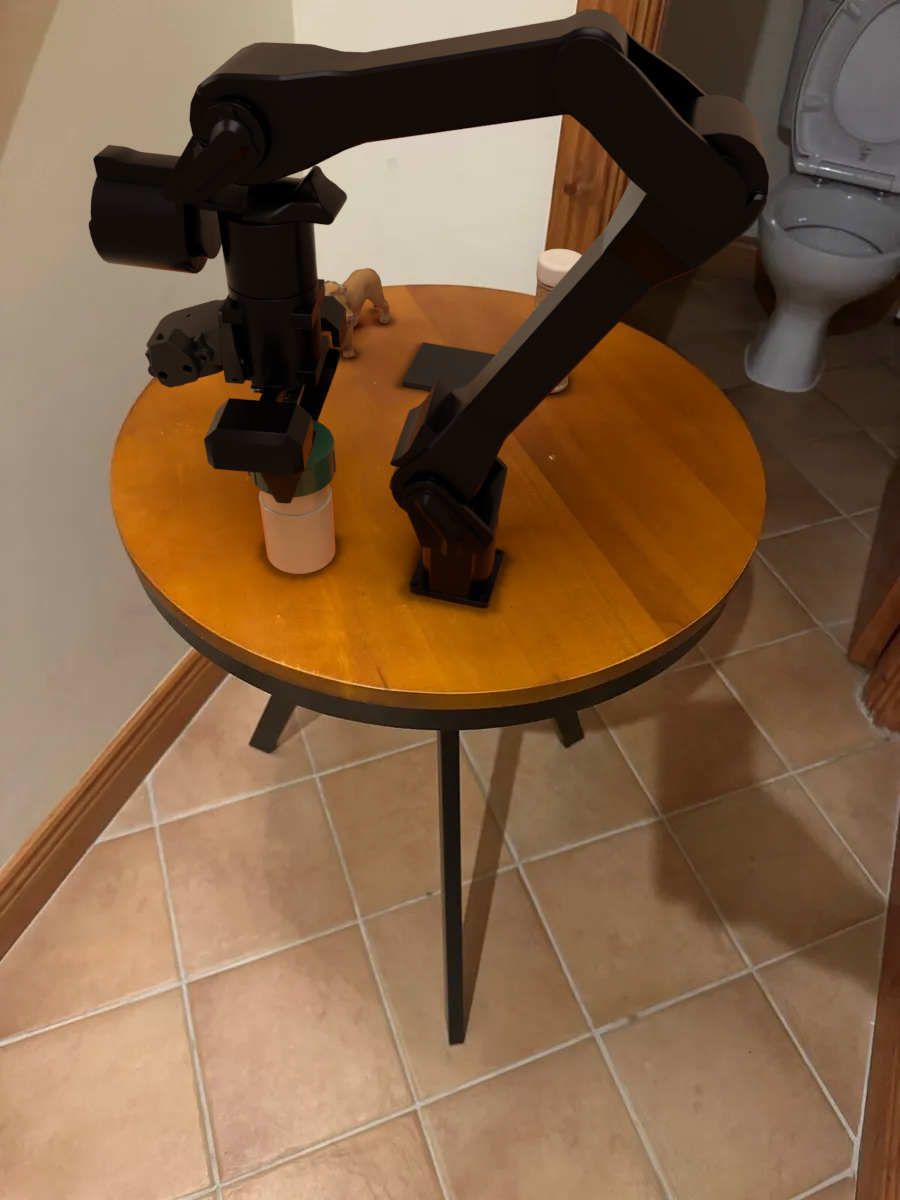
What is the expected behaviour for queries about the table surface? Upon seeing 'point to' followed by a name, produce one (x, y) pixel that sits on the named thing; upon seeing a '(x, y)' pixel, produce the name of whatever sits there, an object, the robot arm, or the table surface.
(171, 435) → the table surface
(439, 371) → the coaster
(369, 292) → the lion figurine
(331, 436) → the lid
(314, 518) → the jar
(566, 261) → the spice bottle
